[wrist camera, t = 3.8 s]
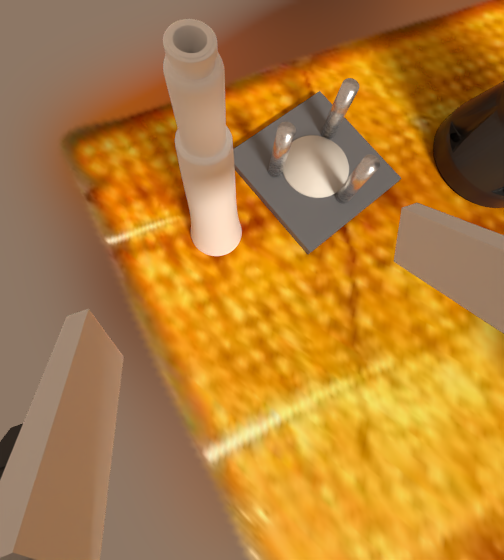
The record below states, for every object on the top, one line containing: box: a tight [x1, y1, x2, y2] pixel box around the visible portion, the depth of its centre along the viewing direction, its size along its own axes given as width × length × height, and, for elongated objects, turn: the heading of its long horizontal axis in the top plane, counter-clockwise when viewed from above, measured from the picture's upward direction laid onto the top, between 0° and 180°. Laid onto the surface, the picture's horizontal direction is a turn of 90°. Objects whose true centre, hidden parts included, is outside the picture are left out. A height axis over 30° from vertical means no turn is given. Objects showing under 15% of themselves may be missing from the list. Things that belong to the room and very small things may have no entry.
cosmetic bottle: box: [163, 19, 242, 256], centre depth 22 cm, size 6×6×22 cm
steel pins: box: [268, 78, 380, 204], centre depth 31 cm, size 11×10×7 cm
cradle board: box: [233, 91, 401, 254], centre depth 35 cm, size 16×16×1 cm
